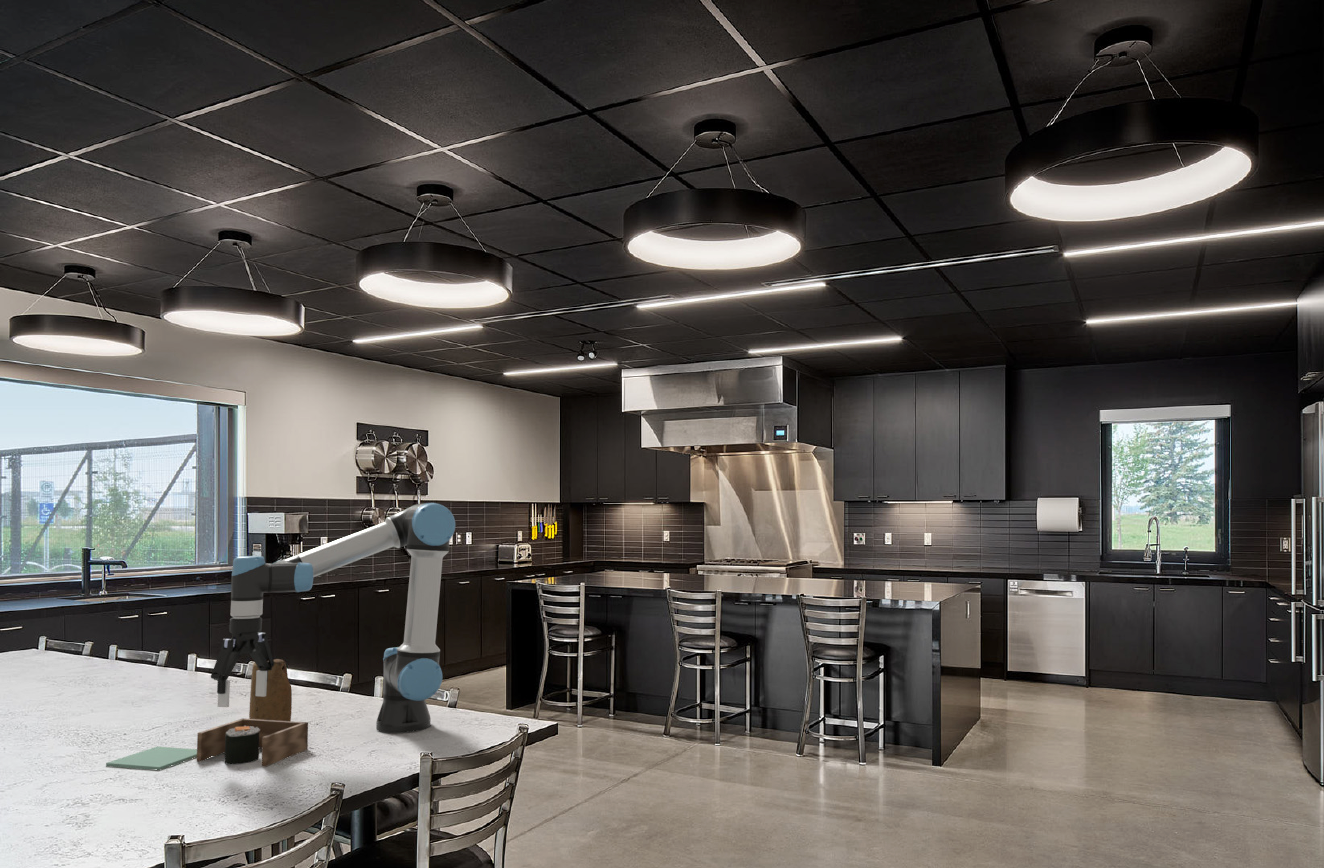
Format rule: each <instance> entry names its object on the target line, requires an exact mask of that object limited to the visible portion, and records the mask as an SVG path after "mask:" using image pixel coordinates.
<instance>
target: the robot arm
mask: <svg viewBox="0 0 1324 868" xmlns="http://www.w3.org/2000/svg"><path fill="white" fill-rule="evenodd" d="M455 530H456V520H455V516H454V515H453V513H452V511H451V510H450V509H449V508H447V507H446V506H444V505H443V504H440V503H438V502H437V503H436V502H426V503H417V504H413V505H411V506H410V507H407V508H406V509H404V510H402V511H400V512H398V513H395V514H393V515H391V516H387V517H386V518H385V520H384V522H381V523H379V524H376V525H373V526H371V527H368V528H365V529H363V530H360V531H358V532H354V533H352V534H350V535H346V536H343V537H342V538H338V539H336V540H333V541H331V542H328V543H325V544H322V545H319V546H316V547H315V548H312V549H309V550H306V551H304V552H300V553H298V554H296V555H293V556H290V557H288V558H285V559H280V560H277V561H275V562H273V563H266V561H265V556H260V555H242V556H237V557H234V559H233V561H232V571H231V583H230V586H231V589H230V591H231V592H230V616H231V618H230V619H229V629H228V630H229V633H231V635H232V637H231V638H223V639H222V641H221V646H220V650H219V654H218V655H217V659H216V660H215V663H214V666H213V669H212V672H211V674H210V678H211V679H212V680H214V681H217V687H216V693H217V707H218V708H228V707H230V695H231V694H230V691H231V689H230V687H231V680H230V679H229V676H230V675H231V674H232V672H233V669H234V668H235V667H236V664H237V663H238V661H239V659H240V658H241V657H242V656H243V655H247V654H249V655H250V657H251V659H253V661H254V663H256V665H257V666H258V668H259V669H260V670H258V671H256V695H255V696H261V697H265V696H266V689H267V681H268V670H272V667H273V666H274V660H275V659H274V657H273V654H272V651H271V648H270V645H269V642H268V633H267V632H262V628H263V618H262V617H261V616H262V615H263V610H264V609H263V606H264V605H263V603H264V593H267V594H268V593H293V592H295V593H300V592H309V591H310V590H312V587H313V585H314V584H313V583H314V578H315V577H317V576H320V575H323V574H326V573H329V572H331V571H333V570H336V569H339V568H341V567H344V566H346V565H349V564H352V563H354V562H357V561H359V560H361V559H365V558H366V557H370V556H372V555H375V554H378V553H380V552H383V551H386V550H388V549H391V548H396V549H400V548H402V547H406V551H407V552H408V553H409V555H410V556H411V558H410V569H409V580H408V581H409V582H408V591H407V601H406V602H407V603H406V612H405V613H406V614H405V621H404V624H405V625H404V634H403V642H402V644H400V646H397V647H389V648H386V649H385V651H384V652H383V658H382V660H383V679H382V680H383V683H382V684H383V688H382V689H383V690H382V691H383V692H382V695H383V697H382V703H381V707H380V710H379V712H378V715H377V719H376V724H375V725H376V731H378V732H381V733H388V734H403V733H405V734H406V733H412V732H418V731H422V730H426V729H427V728H429V727H430V726H431V720H432V719H431V715H430V712H429V707H428V706H427V702H426V700H428V699H430V698H431V697H433V696H434V695H435V694H436V693H437V692H438V691H439V689H440V688H441V685H442V682H443V671H442V668H441V666H440V656H441V655H440V654H441V649H440V648H439V647H438V645H437V644H436V639H437V624H438V615H439V604H440V593H441V592H440V591H441V582H442V581H441V580H442V578H441V577H442V572H443V571H442V570H443V558H444V557H445V556H446V555H447V554H449V552H450V540H451V539H452V537H453V535H454V533H455ZM268 661H269V662H268Z"/></svg>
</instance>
